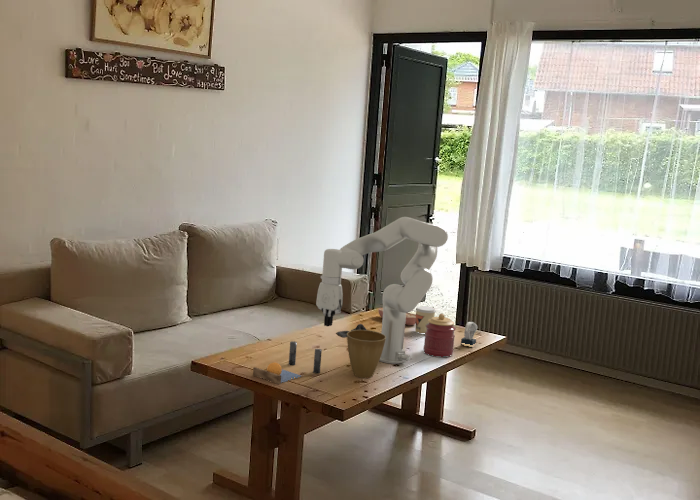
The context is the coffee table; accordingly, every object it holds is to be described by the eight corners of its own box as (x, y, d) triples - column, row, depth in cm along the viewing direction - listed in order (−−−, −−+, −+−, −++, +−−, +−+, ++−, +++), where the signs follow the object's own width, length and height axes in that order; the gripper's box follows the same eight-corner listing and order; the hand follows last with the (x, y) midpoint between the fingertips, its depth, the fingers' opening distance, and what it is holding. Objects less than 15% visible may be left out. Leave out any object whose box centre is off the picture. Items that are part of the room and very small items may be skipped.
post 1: (296, 364, 299) (298, 342, 298) (292, 365, 297) (293, 343, 296) (291, 363, 301) (293, 340, 299) (287, 364, 299) (288, 342, 297)
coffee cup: (410, 330, 367) (413, 305, 366) (428, 330, 370) (430, 306, 369) (418, 335, 359) (420, 310, 357) (436, 335, 362) (438, 310, 360)
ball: (278, 382, 280) (286, 370, 283) (272, 373, 277) (280, 361, 279) (267, 378, 284) (276, 366, 286) (261, 369, 280) (270, 357, 283)
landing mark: (302, 376, 285) (302, 375, 285) (280, 383, 276) (280, 382, 276) (278, 368, 292) (278, 368, 292) (256, 374, 283) (256, 374, 283)
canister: (437, 359, 322) (441, 318, 320) (416, 350, 332) (420, 311, 330) (459, 355, 330) (463, 316, 327) (438, 347, 340) (442, 309, 337)
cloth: (329, 336, 348) (330, 323, 347) (351, 329, 363) (352, 316, 362) (371, 346, 336) (372, 333, 335) (392, 338, 352) (393, 325, 351)
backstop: (280, 383, 275) (281, 375, 275) (278, 384, 274) (279, 376, 274) (254, 374, 283) (255, 367, 282) (252, 375, 282) (253, 367, 281)
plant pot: (335, 373, 292) (338, 332, 290) (362, 367, 303) (366, 328, 300) (363, 384, 282) (366, 342, 280) (390, 377, 292) (394, 337, 290)
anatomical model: (421, 325, 378) (422, 316, 378) (409, 328, 371) (410, 318, 370) (384, 316, 393) (385, 306, 392) (373, 318, 385) (373, 309, 384)
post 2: (321, 372, 292) (323, 349, 290) (317, 373, 290) (318, 351, 288) (316, 370, 293) (317, 348, 292) (311, 372, 291) (313, 349, 290)
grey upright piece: (477, 345, 350) (479, 321, 348) (470, 348, 343) (473, 324, 341) (465, 342, 352) (468, 319, 351) (459, 346, 345) (461, 322, 344)
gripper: (310, 278, 302) (307, 323, 305) (340, 284, 293) (336, 331, 296) (322, 276, 308) (319, 320, 311) (352, 282, 299) (348, 328, 302)
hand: (328, 325), depth 303 cm, fingers closed
